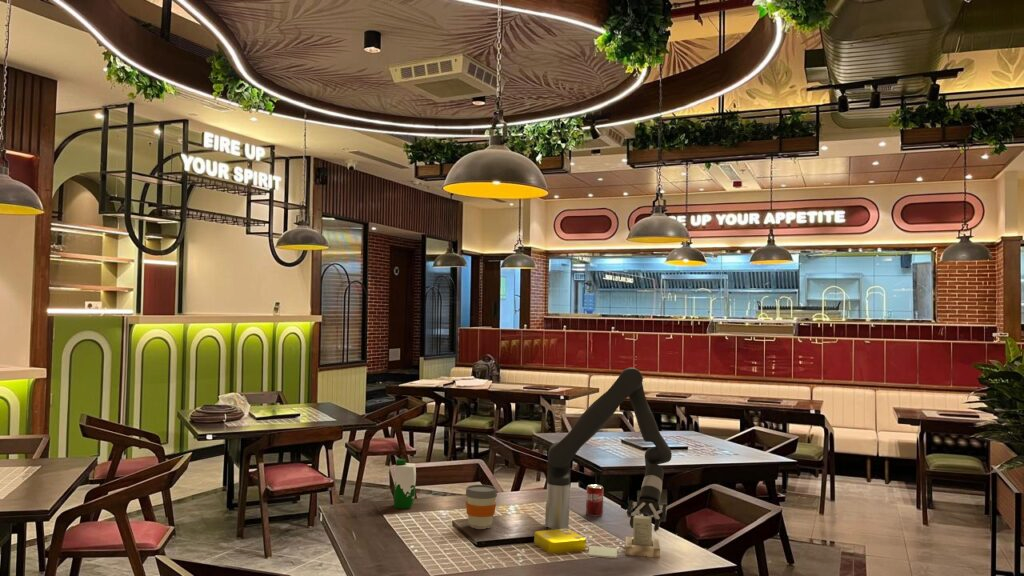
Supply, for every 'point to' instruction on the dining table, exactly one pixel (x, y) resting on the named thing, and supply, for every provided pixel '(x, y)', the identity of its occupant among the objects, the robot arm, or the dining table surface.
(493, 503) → the reusable coffee cup
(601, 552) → the coaster
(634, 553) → the pocket block
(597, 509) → the soda can
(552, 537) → the element tile
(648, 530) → the skincare box
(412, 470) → the milk carton
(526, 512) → the dining table surface
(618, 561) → the dining table surface
